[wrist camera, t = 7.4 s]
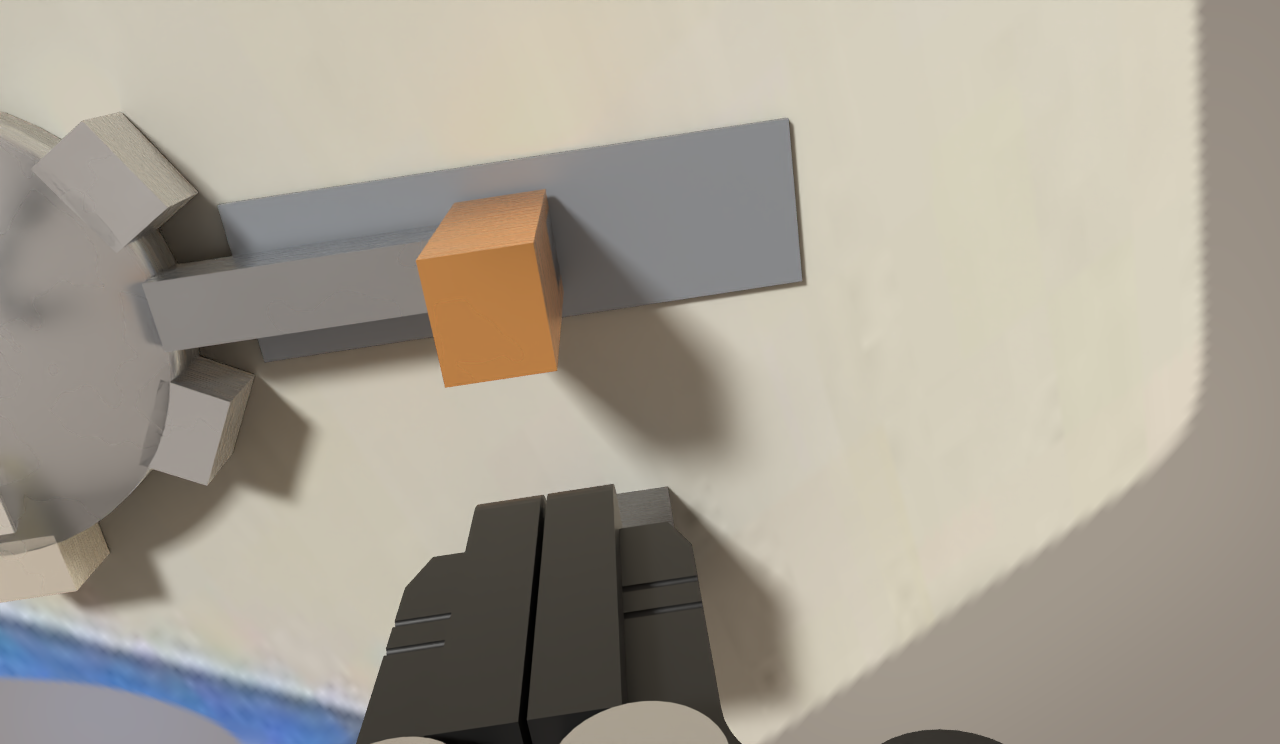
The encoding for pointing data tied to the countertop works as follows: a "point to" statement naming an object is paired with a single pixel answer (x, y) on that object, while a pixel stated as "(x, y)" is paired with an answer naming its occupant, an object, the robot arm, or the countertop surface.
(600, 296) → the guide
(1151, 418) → the countertop surface
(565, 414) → the countertop surface
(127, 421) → the sprocket
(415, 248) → the drive pin
